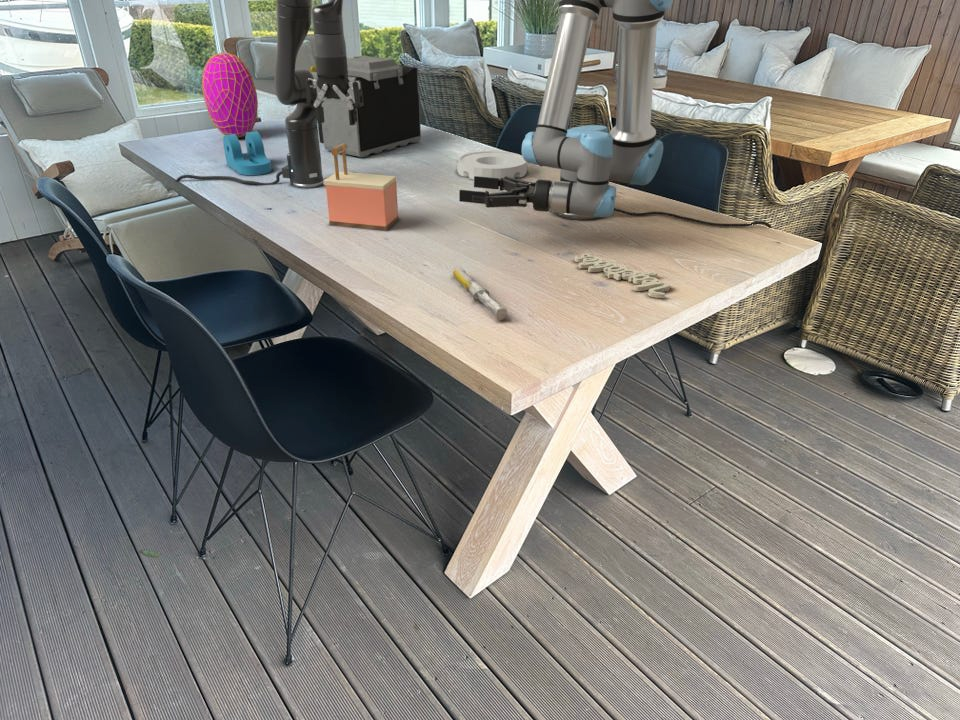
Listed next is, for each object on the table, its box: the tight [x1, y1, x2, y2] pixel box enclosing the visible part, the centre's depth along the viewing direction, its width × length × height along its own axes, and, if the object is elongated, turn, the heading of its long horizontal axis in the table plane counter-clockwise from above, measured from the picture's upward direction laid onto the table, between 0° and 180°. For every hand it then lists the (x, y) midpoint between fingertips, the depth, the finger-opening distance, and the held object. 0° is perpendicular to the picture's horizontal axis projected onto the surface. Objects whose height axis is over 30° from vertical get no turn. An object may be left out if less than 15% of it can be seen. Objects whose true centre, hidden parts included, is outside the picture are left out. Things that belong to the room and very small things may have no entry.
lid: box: [323, 143, 397, 190], centre depth 177 cm, size 17×9×9 cm, turn 75°
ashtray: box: [456, 150, 528, 180], centre depth 228 cm, size 23×23×4 cm
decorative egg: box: [201, 52, 259, 139], centre depth 260 cm, size 19×19×30 cm
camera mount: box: [222, 131, 272, 176], centre depth 226 cm, size 18×10×10 cm, turn 35°
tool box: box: [311, 55, 422, 159], centre depth 250 cm, size 37×22×30 cm, turn 144°
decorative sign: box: [574, 252, 671, 299], centre depth 155 cm, size 26×1×10 cm
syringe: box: [452, 266, 509, 321], centre depth 145 cm, size 25×4×3 cm, turn 21°
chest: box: [325, 180, 399, 232], centre depth 182 cm, size 16×9×11 cm, turn 75°
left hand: (337, 123), depth 173 cm, fingers open, 8 cm apart
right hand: (467, 188), depth 172 cm, fingers open, 13 cm apart
